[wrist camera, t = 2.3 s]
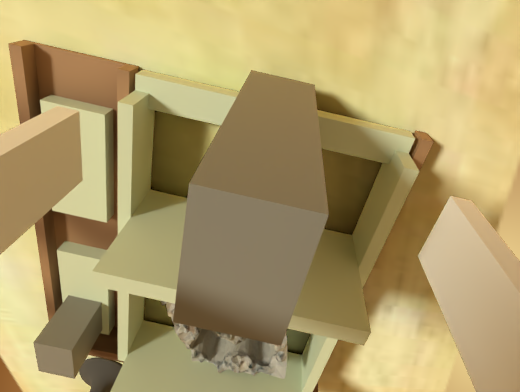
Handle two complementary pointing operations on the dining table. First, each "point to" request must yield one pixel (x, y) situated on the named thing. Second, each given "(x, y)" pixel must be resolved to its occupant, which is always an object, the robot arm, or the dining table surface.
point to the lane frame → (107, 95)
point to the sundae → (100, 373)
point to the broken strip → (81, 249)
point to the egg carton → (232, 350)
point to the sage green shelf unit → (244, 232)
